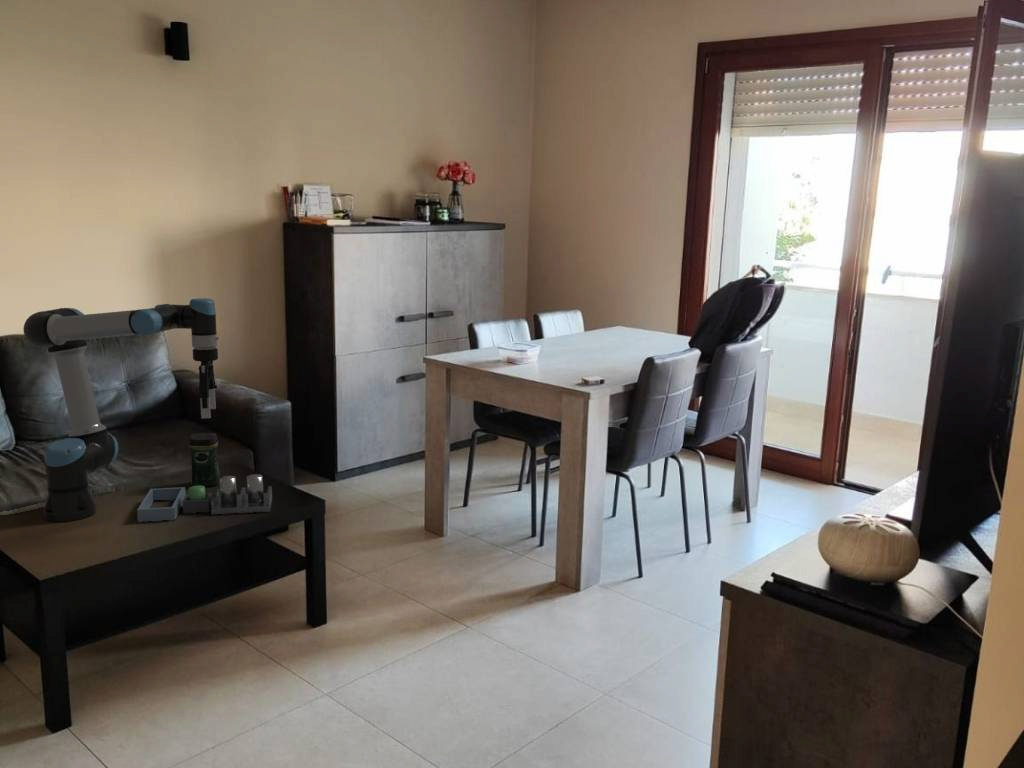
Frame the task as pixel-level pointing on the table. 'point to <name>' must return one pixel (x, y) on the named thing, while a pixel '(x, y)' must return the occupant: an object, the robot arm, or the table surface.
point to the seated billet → (228, 489)
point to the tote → (161, 513)
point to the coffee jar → (204, 459)
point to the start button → (197, 493)
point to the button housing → (197, 504)
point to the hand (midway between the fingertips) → (208, 413)
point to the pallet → (241, 503)
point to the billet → (255, 488)
